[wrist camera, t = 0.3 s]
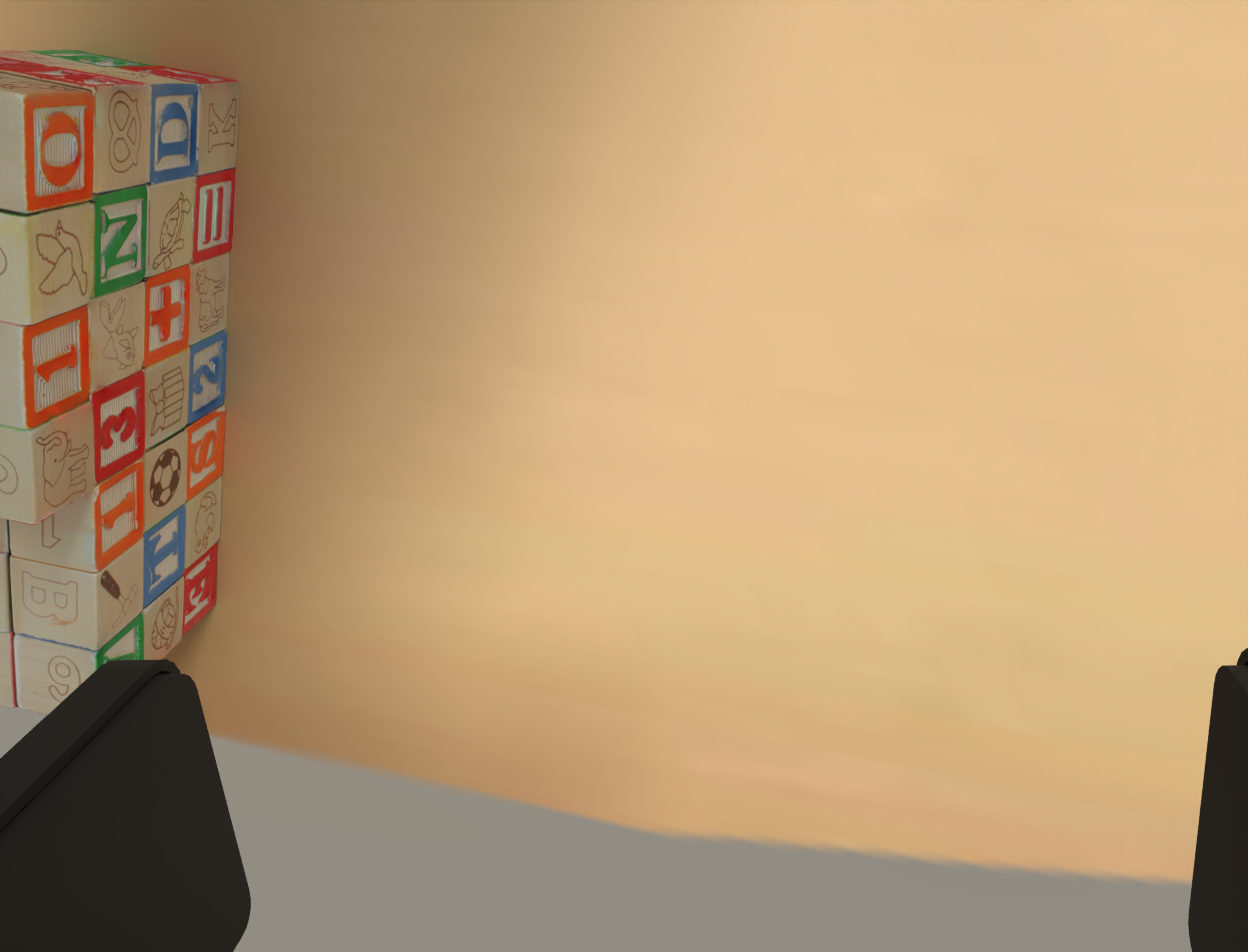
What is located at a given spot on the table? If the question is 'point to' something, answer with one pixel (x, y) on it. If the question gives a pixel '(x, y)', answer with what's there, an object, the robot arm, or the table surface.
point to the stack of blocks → (109, 361)
